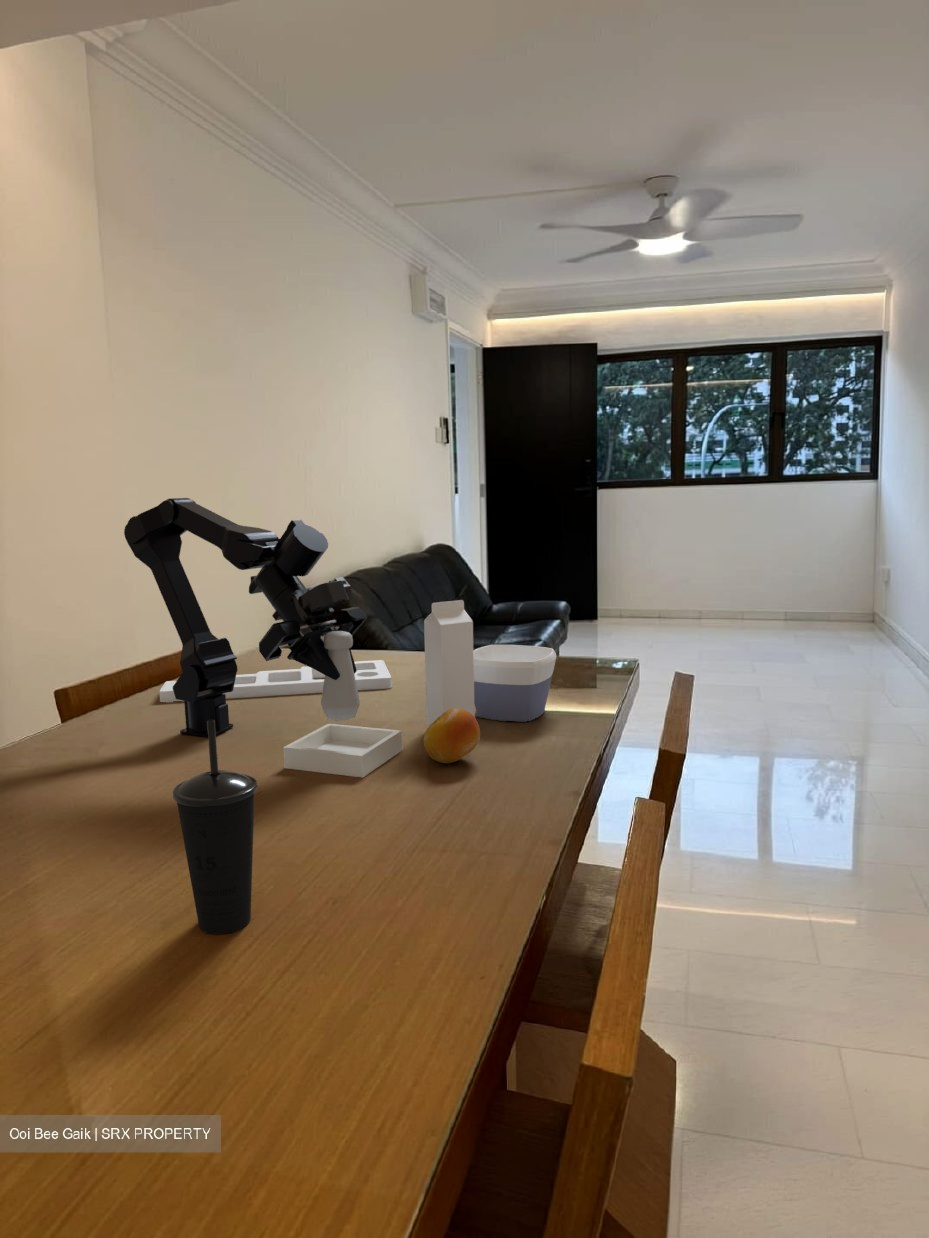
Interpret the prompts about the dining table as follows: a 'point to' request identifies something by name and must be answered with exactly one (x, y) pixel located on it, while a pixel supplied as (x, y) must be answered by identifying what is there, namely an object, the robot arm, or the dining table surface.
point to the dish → (343, 750)
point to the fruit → (452, 736)
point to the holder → (294, 681)
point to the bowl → (512, 681)
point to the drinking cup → (218, 842)
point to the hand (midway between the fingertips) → (346, 675)
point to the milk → (448, 659)
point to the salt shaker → (340, 679)
